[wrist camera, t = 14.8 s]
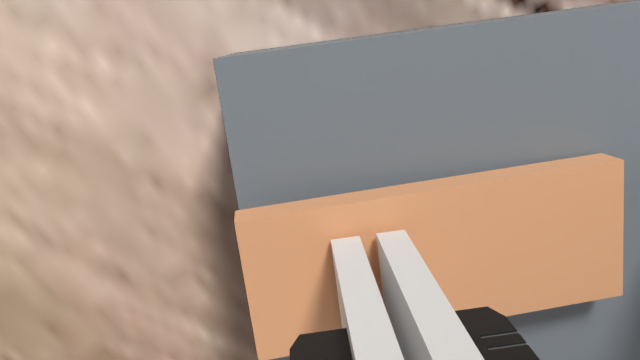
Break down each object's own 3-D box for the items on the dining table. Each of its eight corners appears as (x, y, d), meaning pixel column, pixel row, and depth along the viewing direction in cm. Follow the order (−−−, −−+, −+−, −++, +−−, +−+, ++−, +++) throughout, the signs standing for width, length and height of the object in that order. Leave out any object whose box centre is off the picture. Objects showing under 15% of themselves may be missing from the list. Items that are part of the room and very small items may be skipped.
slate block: (766, -17, 21) (946, -38, 15) (746, 276, 24) (889, 353, 18) (236, 52, 21) (213, 58, 15) (282, 339, 24) (277, 436, 18)
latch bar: (601, 153, 16) (624, 159, 15) (601, 280, 17) (622, 295, 16) (235, 210, 15) (233, 222, 14) (258, 342, 16) (258, 361, 15)
